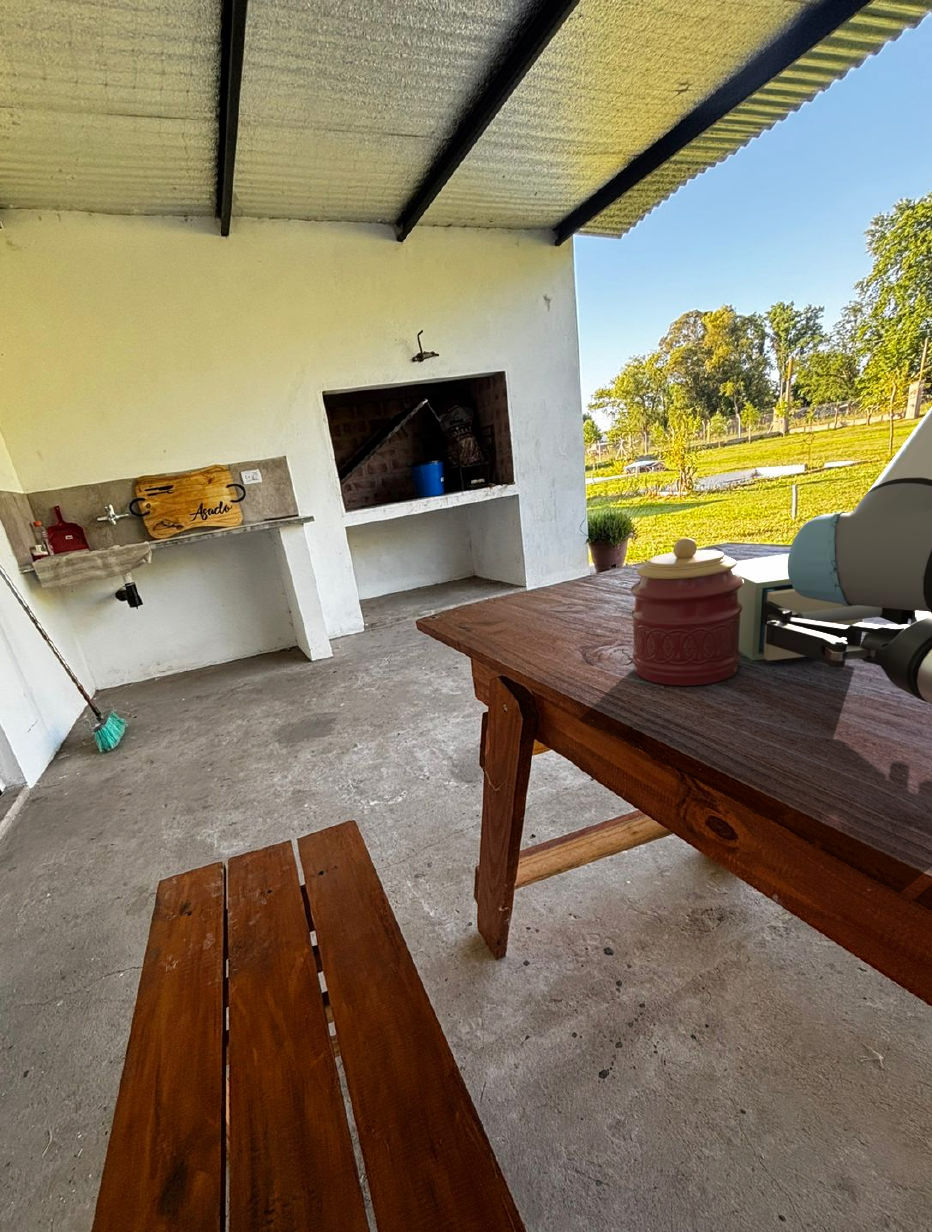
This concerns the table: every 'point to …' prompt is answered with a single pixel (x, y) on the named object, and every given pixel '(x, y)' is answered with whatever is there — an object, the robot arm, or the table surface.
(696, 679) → the kitchen canister
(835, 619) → the sliding drawer
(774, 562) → the small drawer unit
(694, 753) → the table surface
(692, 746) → the table surface
